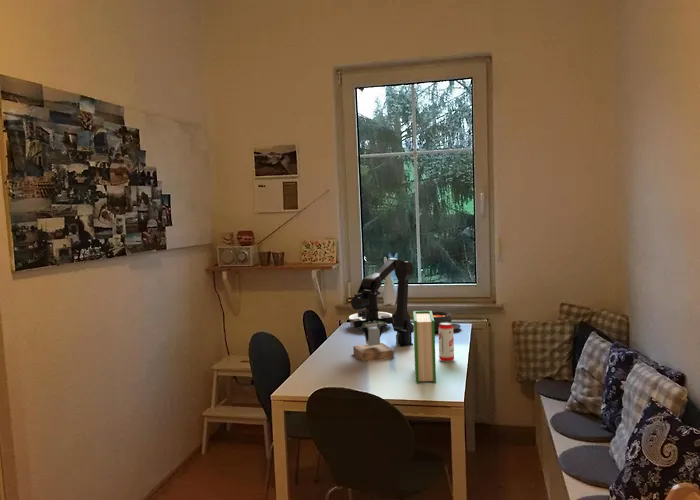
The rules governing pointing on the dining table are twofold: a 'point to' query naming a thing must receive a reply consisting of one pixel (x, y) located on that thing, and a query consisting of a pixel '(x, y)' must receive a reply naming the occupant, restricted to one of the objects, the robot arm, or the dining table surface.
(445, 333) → the beer can
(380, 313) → the soup bowl
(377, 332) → the grey block
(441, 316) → the casserole
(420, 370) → the hardback book
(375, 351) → the brown block
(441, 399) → the dining table surface
